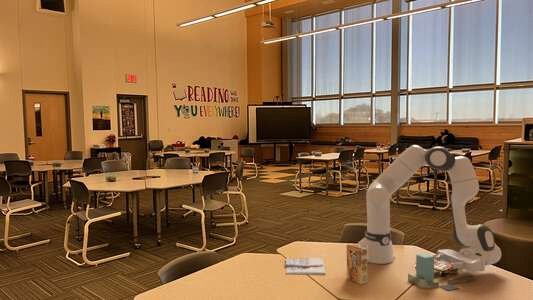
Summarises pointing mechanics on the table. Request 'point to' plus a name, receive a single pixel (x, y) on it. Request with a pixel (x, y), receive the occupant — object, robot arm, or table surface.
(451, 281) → the channel
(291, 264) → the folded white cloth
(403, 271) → the table surface
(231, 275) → the table surface
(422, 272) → the teal block
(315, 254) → the table surface
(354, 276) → the candy box
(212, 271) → the table surface
